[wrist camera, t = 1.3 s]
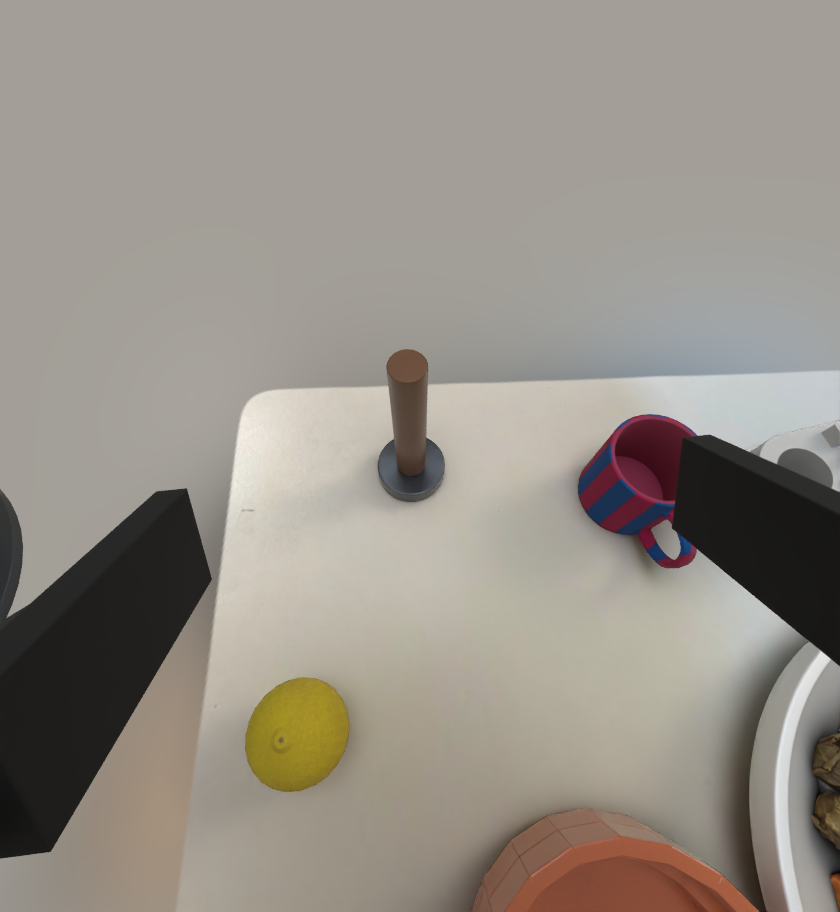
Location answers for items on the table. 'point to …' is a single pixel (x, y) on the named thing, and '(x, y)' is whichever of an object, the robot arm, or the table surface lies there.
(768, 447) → the angled bracket with hole
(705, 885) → the mixing bowl
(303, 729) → the lemon
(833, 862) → the bowl
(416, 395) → the brown rod
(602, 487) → the mug
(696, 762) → the table surface
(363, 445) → the table surface
